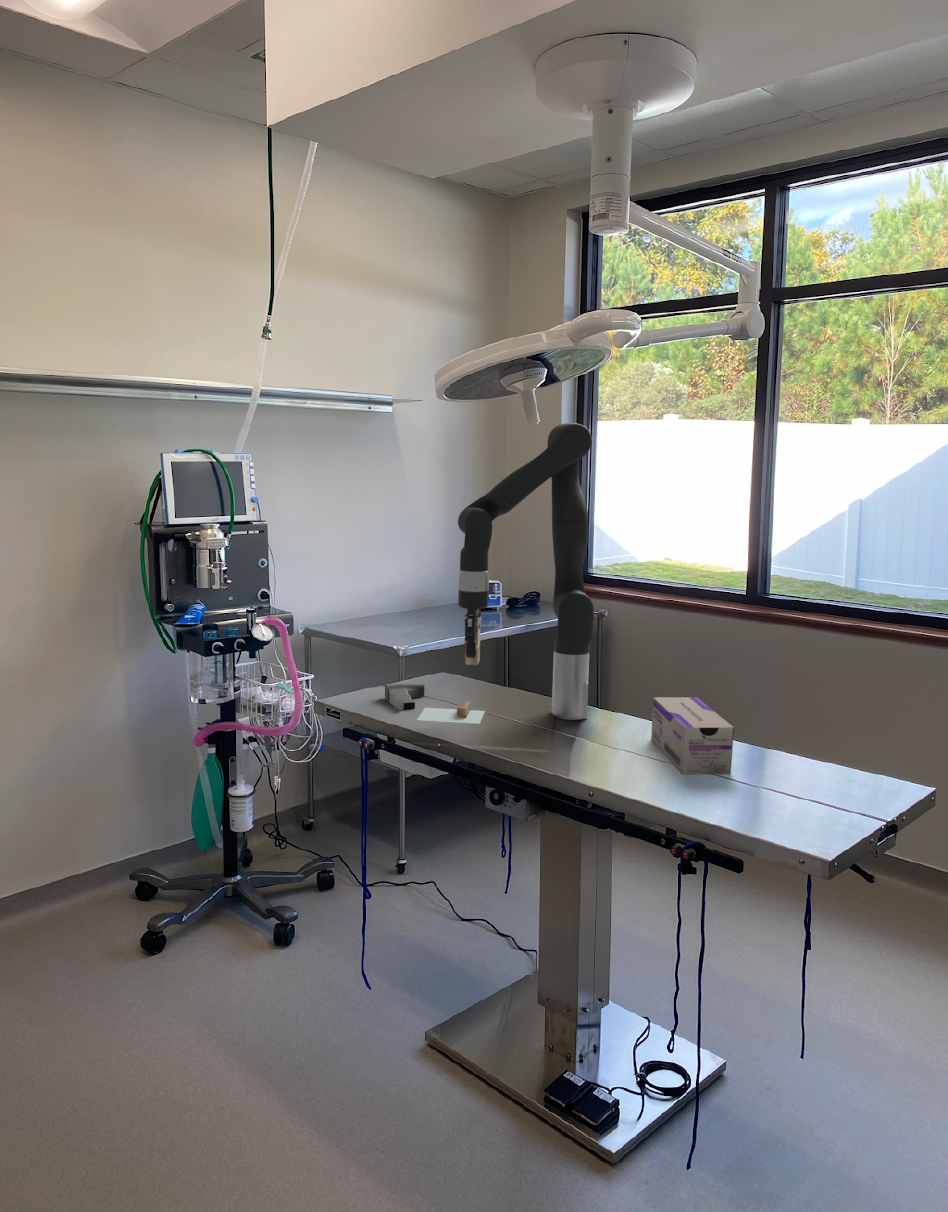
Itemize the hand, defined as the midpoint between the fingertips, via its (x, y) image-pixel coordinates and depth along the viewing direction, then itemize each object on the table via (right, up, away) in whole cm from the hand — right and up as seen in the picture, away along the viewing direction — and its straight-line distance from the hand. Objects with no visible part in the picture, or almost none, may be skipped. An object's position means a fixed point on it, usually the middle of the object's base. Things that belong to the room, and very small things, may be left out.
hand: (472, 654), depth 233 cm
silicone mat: (-5, -17, +6) cm, 18 cm away
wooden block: (0, -2, 0) cm, 2 cm away
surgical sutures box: (+50, -23, -21) cm, 58 cm away
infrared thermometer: (-17, -15, +19) cm, 29 cm away
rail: (-2, -16, +7) cm, 18 cm away
